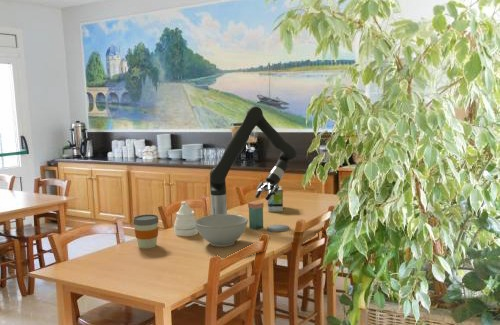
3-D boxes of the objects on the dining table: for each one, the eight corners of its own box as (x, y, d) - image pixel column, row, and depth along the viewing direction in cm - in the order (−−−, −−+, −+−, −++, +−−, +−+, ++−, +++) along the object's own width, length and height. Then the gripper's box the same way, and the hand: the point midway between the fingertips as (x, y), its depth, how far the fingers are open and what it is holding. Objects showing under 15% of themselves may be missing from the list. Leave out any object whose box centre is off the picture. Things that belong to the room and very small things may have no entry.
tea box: (283, 211, 319) (283, 189, 318) (267, 212, 320) (267, 189, 318) (282, 206, 334) (282, 185, 332) (267, 207, 335) (267, 185, 333)
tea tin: (256, 229, 278) (255, 208, 276) (249, 227, 282) (248, 207, 280) (263, 227, 281) (262, 207, 280) (256, 226, 285) (256, 205, 284)
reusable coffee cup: (135, 250, 245) (133, 221, 243) (134, 243, 257) (132, 215, 255) (161, 248, 248) (159, 218, 246) (158, 241, 260) (157, 213, 258)
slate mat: (272, 233, 269) (272, 231, 269) (263, 227, 281) (263, 226, 281) (293, 230, 274) (293, 228, 274) (283, 225, 286) (283, 223, 286)
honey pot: (193, 236, 267) (192, 204, 265) (171, 235, 270) (169, 203, 268) (200, 230, 280) (199, 199, 278) (179, 229, 282) (177, 198, 280)
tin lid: (255, 211, 276) (255, 204, 275) (248, 209, 280) (247, 203, 280) (263, 209, 280) (263, 202, 279) (256, 208, 284) (256, 201, 284)
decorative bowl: (237, 233, 271) (236, 212, 269) (256, 246, 246) (255, 222, 245) (189, 240, 261) (188, 217, 259) (205, 254, 236) (204, 229, 234)
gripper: (263, 171, 292) (249, 193, 285) (280, 173, 281) (266, 196, 275) (270, 178, 296) (256, 200, 290) (287, 181, 285) (273, 204, 279)
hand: (261, 198), depth 282 cm, fingers open, 8 cm apart
